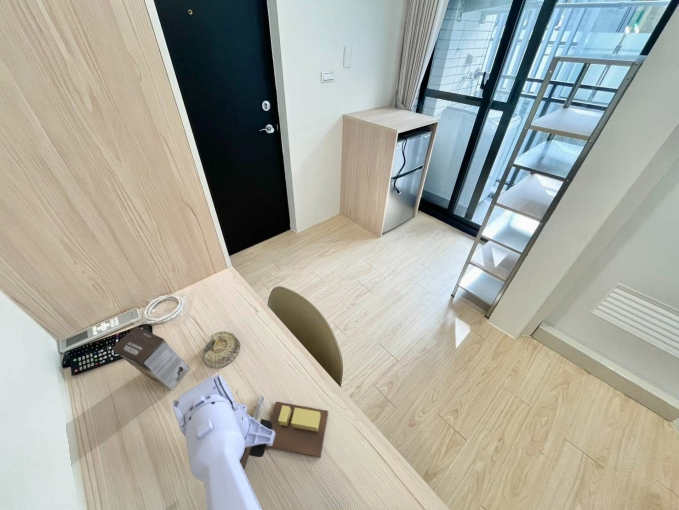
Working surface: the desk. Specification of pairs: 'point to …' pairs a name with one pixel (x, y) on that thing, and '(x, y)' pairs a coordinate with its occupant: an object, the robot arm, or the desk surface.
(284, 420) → the butter pat
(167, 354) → the coffee box
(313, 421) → the butter
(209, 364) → the ammonite fossil
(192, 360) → the desk surface
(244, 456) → the knife
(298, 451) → the butter board
